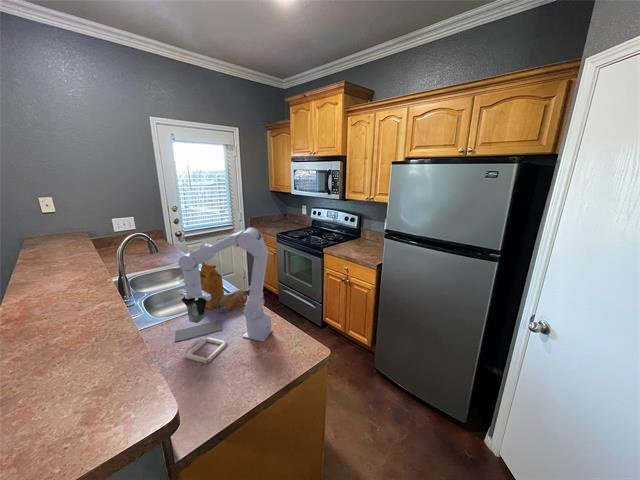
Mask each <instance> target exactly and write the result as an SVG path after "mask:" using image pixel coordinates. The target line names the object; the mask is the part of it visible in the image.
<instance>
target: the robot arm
mask: <svg viewBox="0 0 640 480" xmlns="http://www.w3.org/2000/svg"><path fill="white" fill-rule="evenodd" d="M232 246H233V247H235V248H240V249H242V250H244V251H246V252H247V253H249V254H251V256H253V262H252V263H253V264H252V271H251V272H252V273H251V278H250V287H249V295H248V296H247V302H246V304H245V306H244V307H243V316H244V317H245V322H246V332H245V333H244V334H243V335H242V337H243V338H247V339H251V340H254V341H260V342H264V341H265V340H266V339H267V338H268V337H269V335H270V334H271V333H272V332H273V328H272V318H271V317H270V315H267V314H265V311H264V309H263V306H264V305H265V299H264V291H263V289H264V285H265V284H264V282H265V278H266V269H267V263H268V255H269V250H268V247H267V244H266V241H265V240H264V238H263V233H262V232H261V231H259V230H258V229H257V228H255V227H247V228H246V229H243V230H239V231H237V232H234V233H232V234H230V235H229V236H226V237H224V238H223V239H221V240H219V241H217V242H216V243H213V244H209V243H202V244H201V245H199V247H198V248H195V249H194V250H193V249H190V250H189V251H188V252H187V253H186V254H183V255H181V257H179V259H178V261H177V263H178V266H179V267H180V269H182V276H183V282H184V288H185V289H184V288H182V289H179V290H178V291H177V292H178V293H177V294H178V296H179V297H181V296H183V298H182V297H181V301H182V303H184V305H185V306H186V307H187V305H189V304H191V303H192V302H194V303H195V304H196V306H197V309H198V313H199V315H200V316H201V315H202V314H204V311H206V308H205V306H206V303H207V301H209V300H210V299H211V294H208V293H206V292H204V291H202V286H201V279H200V265H201V264H202V263H203V262H205V261H206V262H207V261H209V260H211V259H214V258H215V257H216V255H217V253H218V252H221V251H223V250H225V249H227V248H229V247H232ZM195 300H196V301H195Z"/></svg>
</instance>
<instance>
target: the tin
mask: <svg viewBox="0 0 640 480" xmlns="http://www.w3.org/2000/svg"><path fill="white" fill-rule="evenodd" d="M247 301H248V294H247V292H245V291H244V290H241V289H237V290H233V291H231V292H229V293H224V295H223V296H221V297H220V298H219V299H218V300H217V304H216V305H217V306H216V308H217V310H218V311H219V312H220V313H223V314H227V313H230V312H233V311H234V310H237V309H239V308H242V307H244V305H245V306H246V304H247Z"/></svg>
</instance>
